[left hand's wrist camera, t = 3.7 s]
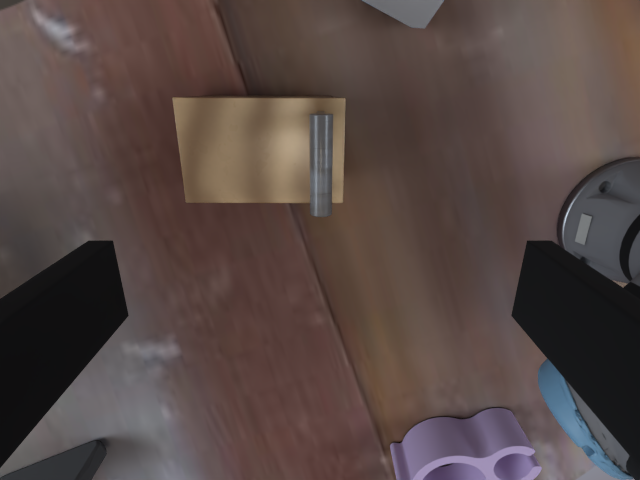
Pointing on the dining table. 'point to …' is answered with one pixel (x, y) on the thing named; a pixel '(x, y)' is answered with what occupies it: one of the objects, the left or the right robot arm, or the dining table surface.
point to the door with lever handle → (262, 150)
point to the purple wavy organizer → (466, 449)
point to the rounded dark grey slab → (65, 465)
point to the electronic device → (408, 10)
